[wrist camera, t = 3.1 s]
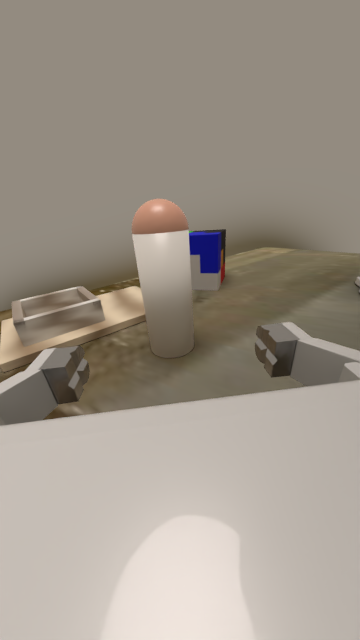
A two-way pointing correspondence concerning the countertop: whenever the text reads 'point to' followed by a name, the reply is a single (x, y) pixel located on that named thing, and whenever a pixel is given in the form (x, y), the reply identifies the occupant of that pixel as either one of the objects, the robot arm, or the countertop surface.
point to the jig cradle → (65, 321)
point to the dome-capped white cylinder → (165, 276)
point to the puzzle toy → (207, 259)
